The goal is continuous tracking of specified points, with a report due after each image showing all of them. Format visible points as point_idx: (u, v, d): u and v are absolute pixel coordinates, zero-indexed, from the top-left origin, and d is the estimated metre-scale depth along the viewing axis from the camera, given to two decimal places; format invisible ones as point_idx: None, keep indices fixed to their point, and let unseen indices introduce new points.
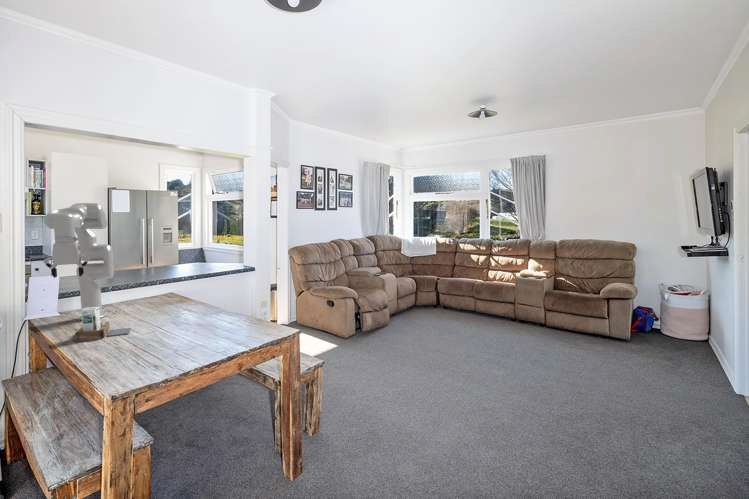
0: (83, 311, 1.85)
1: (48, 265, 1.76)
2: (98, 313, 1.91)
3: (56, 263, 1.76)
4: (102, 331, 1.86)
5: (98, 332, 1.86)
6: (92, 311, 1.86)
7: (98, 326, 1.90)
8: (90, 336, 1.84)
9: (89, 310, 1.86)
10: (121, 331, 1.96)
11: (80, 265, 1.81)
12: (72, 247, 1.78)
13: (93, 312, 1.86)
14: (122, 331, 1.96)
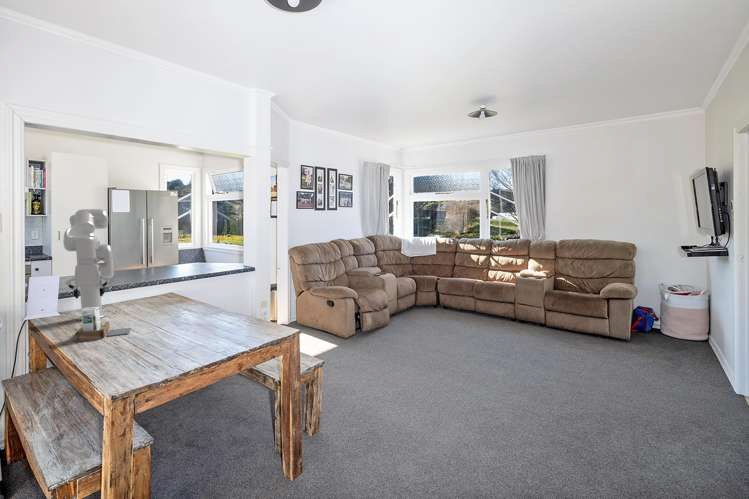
0: (83, 311, 1.85)
1: (70, 286, 1.83)
2: (98, 313, 1.91)
3: (78, 284, 1.83)
4: (102, 331, 1.86)
5: (98, 332, 1.86)
6: (92, 311, 1.86)
7: (98, 326, 1.90)
8: (90, 336, 1.84)
9: (89, 310, 1.86)
10: (121, 331, 1.96)
11: (101, 286, 1.88)
12: (94, 269, 1.85)
13: (93, 312, 1.86)
14: (122, 331, 1.96)
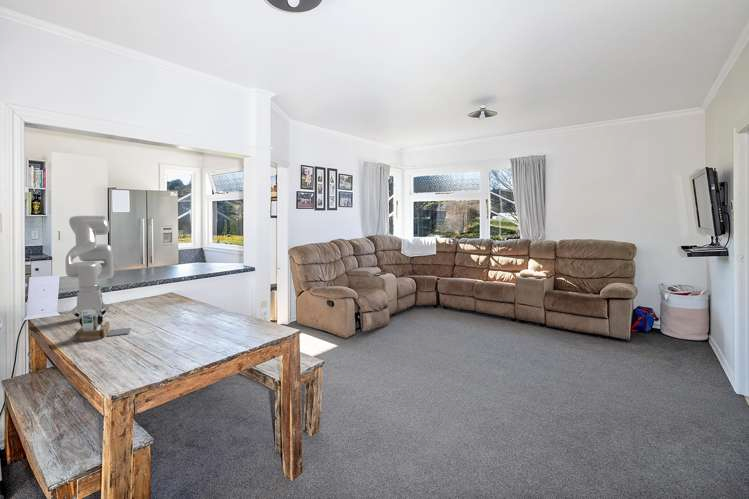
0: (83, 311, 1.85)
1: (76, 315, 1.85)
2: None
3: (80, 311, 1.85)
4: (102, 331, 1.86)
5: (98, 332, 1.86)
6: (92, 311, 1.86)
7: (98, 326, 1.90)
8: (90, 336, 1.84)
9: (89, 310, 1.86)
10: (121, 331, 1.96)
11: (99, 314, 1.89)
12: (96, 296, 1.87)
13: (93, 312, 1.86)
14: (122, 331, 1.96)
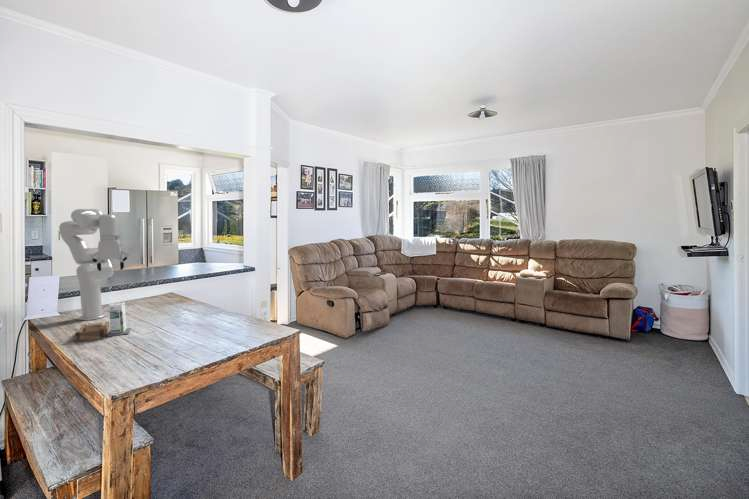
0: (110, 307, 1.91)
1: (94, 260, 2.01)
2: (124, 308, 1.97)
3: (101, 258, 2.01)
4: (102, 331, 1.86)
5: (98, 332, 1.86)
6: (119, 306, 1.92)
7: (124, 321, 1.96)
8: (90, 336, 1.84)
9: (116, 306, 1.92)
10: None
11: (121, 260, 2.06)
12: (115, 244, 2.03)
13: (120, 307, 1.92)
14: None
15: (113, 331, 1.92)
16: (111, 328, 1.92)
